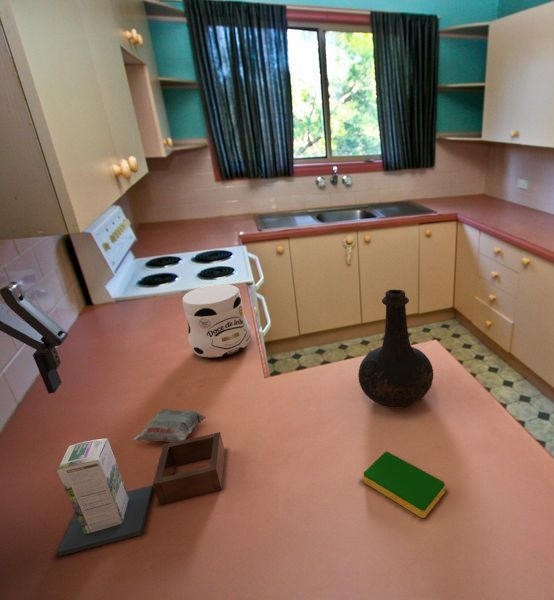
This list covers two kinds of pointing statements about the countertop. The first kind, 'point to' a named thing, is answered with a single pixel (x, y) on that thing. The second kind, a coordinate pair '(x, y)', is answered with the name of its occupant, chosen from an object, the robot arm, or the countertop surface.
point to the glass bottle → (395, 361)
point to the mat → (127, 529)
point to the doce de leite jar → (216, 321)
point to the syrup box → (94, 485)
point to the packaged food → (170, 426)
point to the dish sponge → (404, 484)
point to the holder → (192, 481)
